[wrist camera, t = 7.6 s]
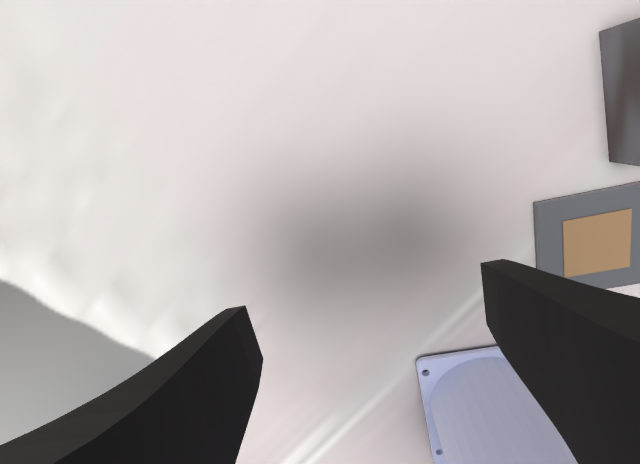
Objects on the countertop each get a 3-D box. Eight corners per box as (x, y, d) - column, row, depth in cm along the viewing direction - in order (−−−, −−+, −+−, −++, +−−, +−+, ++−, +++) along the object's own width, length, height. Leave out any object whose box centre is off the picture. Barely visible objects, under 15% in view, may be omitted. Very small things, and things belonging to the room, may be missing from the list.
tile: (645, 278, 20) (652, 282, 20) (538, 295, 21) (542, 300, 20) (650, 179, 18) (658, 181, 18) (533, 202, 19) (538, 204, 19)
